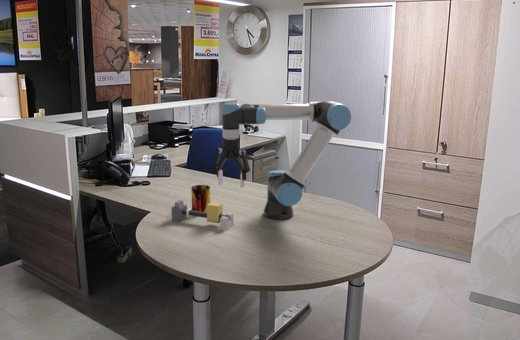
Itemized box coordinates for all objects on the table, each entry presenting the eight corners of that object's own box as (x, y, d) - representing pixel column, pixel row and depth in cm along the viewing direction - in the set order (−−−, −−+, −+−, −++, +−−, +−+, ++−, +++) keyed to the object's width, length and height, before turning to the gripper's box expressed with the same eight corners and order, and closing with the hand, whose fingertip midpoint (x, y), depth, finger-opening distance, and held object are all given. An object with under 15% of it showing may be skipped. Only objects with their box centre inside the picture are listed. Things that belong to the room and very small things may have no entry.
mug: (199, 215, 228) (198, 193, 225) (189, 207, 240) (188, 186, 237) (216, 212, 233) (216, 190, 230) (206, 205, 245) (205, 183, 242)
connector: (187, 218, 224) (186, 200, 222) (180, 222, 219) (180, 203, 217) (178, 216, 226) (177, 199, 224) (172, 220, 221) (171, 202, 218)
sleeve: (222, 220, 216) (222, 203, 214) (218, 223, 212) (218, 206, 210) (211, 218, 218) (211, 202, 216) (207, 221, 214) (206, 204, 212)
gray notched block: (233, 224, 216) (233, 213, 215) (226, 230, 209) (225, 218, 207) (228, 223, 217) (228, 212, 216) (220, 229, 210) (220, 218, 208)
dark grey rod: (229, 220, 214) (229, 213, 213) (226, 223, 211) (226, 216, 210) (178, 212, 224) (178, 206, 223) (174, 215, 221) (174, 208, 220)
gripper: (257, 138, 201) (257, 186, 206) (212, 134, 209) (213, 180, 215) (251, 141, 194) (251, 190, 200) (204, 137, 203) (205, 184, 208)
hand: (231, 185), depth 207 cm, fingers open, 10 cm apart
